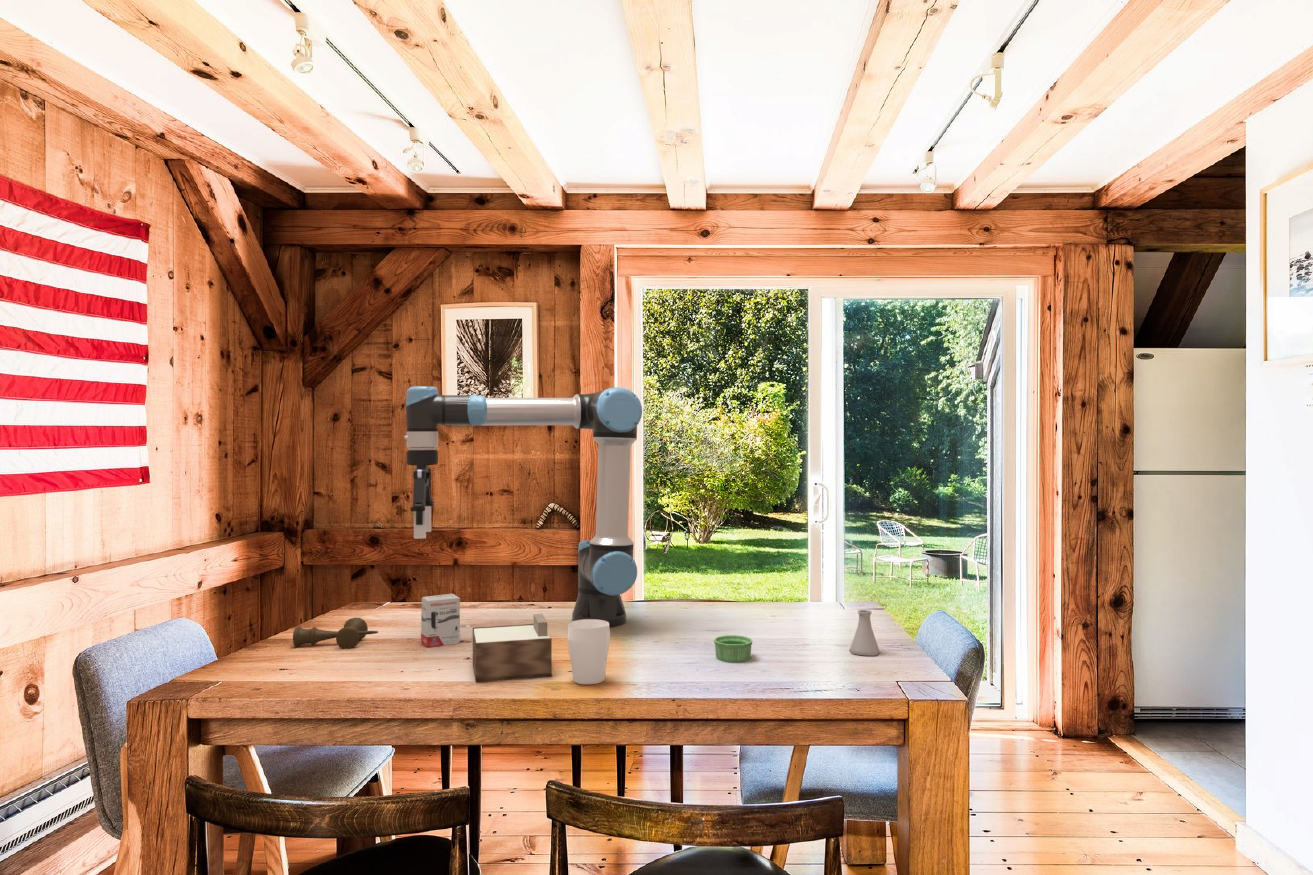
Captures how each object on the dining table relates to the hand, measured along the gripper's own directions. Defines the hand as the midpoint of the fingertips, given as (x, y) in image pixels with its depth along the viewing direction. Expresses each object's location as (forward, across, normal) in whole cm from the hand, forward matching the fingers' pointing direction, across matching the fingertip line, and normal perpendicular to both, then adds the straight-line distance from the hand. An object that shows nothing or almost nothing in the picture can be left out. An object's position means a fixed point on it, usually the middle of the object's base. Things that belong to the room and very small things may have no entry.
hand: (422, 535), depth 201 cm
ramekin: (+28, +24, +72) cm, 81 cm away
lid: (+20, +24, +21) cm, 38 cm away
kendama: (+28, -6, -22) cm, 36 cm away
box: (+28, +24, +21) cm, 43 cm away
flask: (+28, +25, +105) cm, 111 cm away
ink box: (+28, -2, +4) cm, 28 cm away
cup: (+28, +35, +38) cm, 59 cm away
